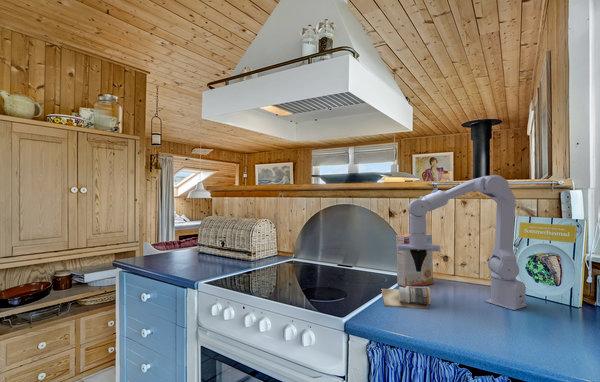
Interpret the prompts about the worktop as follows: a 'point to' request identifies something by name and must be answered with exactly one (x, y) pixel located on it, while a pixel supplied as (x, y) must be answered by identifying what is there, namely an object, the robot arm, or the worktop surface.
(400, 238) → the cracker box
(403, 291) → the pill bottle
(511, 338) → the worktop surface
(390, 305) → the beige flat rectangular panel
